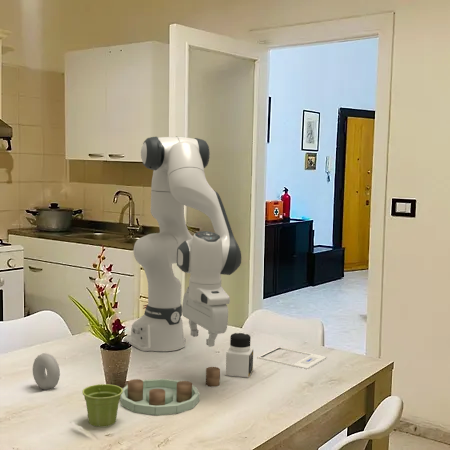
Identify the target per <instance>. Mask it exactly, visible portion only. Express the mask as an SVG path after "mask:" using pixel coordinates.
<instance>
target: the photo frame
mask: <svg viewBox="0 0 450 450" xmlns="http://www.w3.org/2000/svg"><path fill="white" fill-rule="evenodd" d="M278 349H281V350H282V351H287V352H292V353H296V354H297V353H298V354H301V353H302V354H301V355H305V354H307V356H306V357H304V358H302V359H300V360H298V361H296V362H294V363H290V362H284V361H281V360H276V359H273V358H272V359H271V358H267V357H264V356H266V355H268V354H269V353H272V352H274V351H276V350H278ZM256 358H257V360H258V359H259V360H263V361H267V362H271V363H276V364H281V365H286V366H289V367H293V368H294V367H295V368H298V367H299V368H298V369H302V368H304V369H303V370H307V369H308V370H310V369H311V368H313V367H315V366H316V365H318V364H319V362H320V363H322V362H323V361H325V360H326V358H327V359H328V356H324V355H319V354H317V353H316V354H315V353H311V352H305V351H301V350H296V349H291V348H287V347H286V348H285V347H282V346H277V347H275V348H273V349H270V350H269V351H266V352H265V353H262V354H260V355H259V356H257V357H256ZM324 359H325V360H324ZM322 360H323V361H322ZM317 363H318V364H317ZM314 365H315V366H314ZM312 366H313V367H312ZM310 367H311V368H310Z"/></svg>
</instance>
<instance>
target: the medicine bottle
mask: <svg viewBox="0 0 450 450" xmlns="http://www.w3.org/2000/svg"><path fill="white" fill-rule="evenodd" d="M251 339H252V338H251V335H250V334H248V333H246V332H234V333H232V334H231V335H230V340H229V341H230V343H229V348H228V350H227V351H226V353H225V376H231V377H240V378H249V377H250V376H251V374H252V372H253V369H254V347H251Z"/></svg>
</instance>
